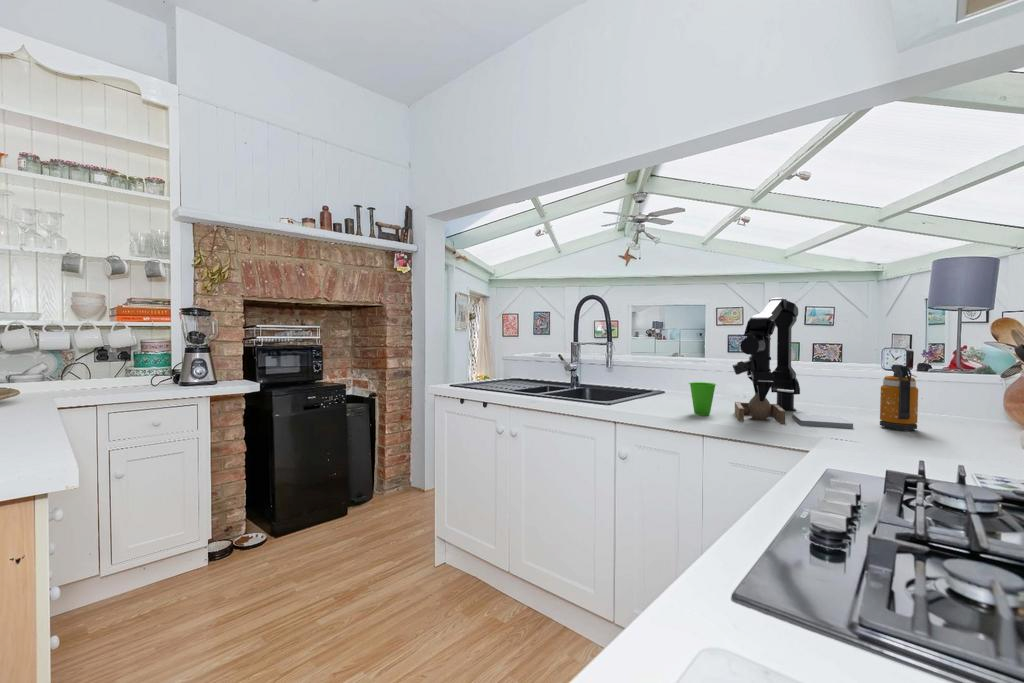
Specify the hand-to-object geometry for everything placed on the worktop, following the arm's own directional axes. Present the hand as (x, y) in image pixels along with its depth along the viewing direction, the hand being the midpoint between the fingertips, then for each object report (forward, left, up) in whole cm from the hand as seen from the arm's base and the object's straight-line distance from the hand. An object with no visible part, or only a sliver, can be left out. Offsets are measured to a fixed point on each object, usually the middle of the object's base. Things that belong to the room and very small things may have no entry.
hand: (759, 399), depth 161 cm
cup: (-2, -18, -7) cm, 19 cm away
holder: (-1, 0, -7) cm, 7 cm away
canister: (+3, +38, -7) cm, 39 cm away
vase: (0, 0, -7) cm, 7 cm away
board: (0, +18, -7) cm, 19 cm away
